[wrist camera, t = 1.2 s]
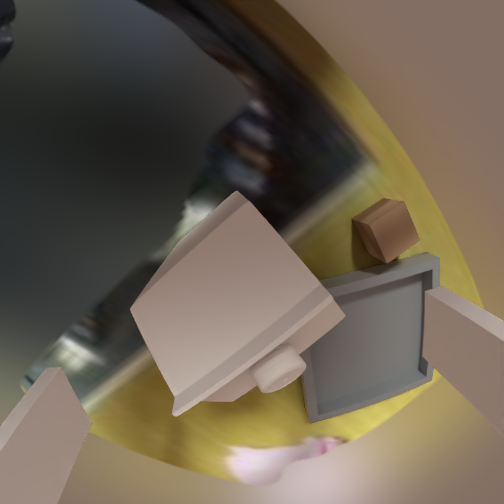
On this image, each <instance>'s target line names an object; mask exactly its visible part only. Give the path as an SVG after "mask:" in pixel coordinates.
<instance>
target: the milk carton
mask: <svg viewBox="0 0 504 504" xmlns="http://www.w3.org/2000/svg"><path fill="white" fill-rule="evenodd" d="M130 311H131V313H132V315H133V317H134V320H135V322H136V324H137V326H138V328H139V330H140V332H141V334H142V336H143V338H144V341H145V343H146V345H147V347H148V349H149V351H150V353H151V355H152V356H153V358H154V360H155V362H156V364H157V366H158V368H159V370H160V372H161V374H162V376H163V377H164V379H165V381H166V383H167V385H168V386H169V388H170V390H171V392H172V394H173V395H174V397H175V399H174V404H173V409H172V415H173V416H175V417H178V416H179V415H181V414H182V413H184V412H185V411H187V410H188V409H190V408H191V407H193V406H194V405H196V404H197V403H199V402H200V401H211V402H233V401H234V400H236V399H238V398H239V397H241V396H242V395H244V394H245V393H247V392H248V391H250V390H251V389H253V388H254V387H256V386H258V387H259V389H260V391H261V392H263V393H271V392H275V391H277V390H279V389H282V388H283V387H285V386H287V385H288V384H290V383H291V382H293V381H294V380H295V379H297V378H298V377H299V376H300V375H301V374H302V373H303V372H304V371H305V369H306V363H305V362H304V361H303V359H302V358H301V357H300V356H299V354H300V353H302V352H303V351H304V350H306V349H307V348H308V347H309V346H311V345H312V344H313V343H314V342H316V341H317V340H318V339H319V338H321V337H322V336H323V335H324V334H326V333H327V332H328V331H329V330H330V329H332V328H333V327H334V326H335V325H336V324H338V323H339V322H340V321H341V320H342V319H343V318H344V317H345V316H346V315H345V314H344V313H343V311H342V310H341V309H340V307H339V306H338V305H337V303H336V302H335V301H334V299H333V297H332V295H331V294H330V293H329V292H328V291H327V290H326V289H325V287H324V286H323V285H322V284H321V283H320V282H319V281H318V279H317V278H316V277H315V276H314V275H313V273H312V272H311V271H310V270H309V269H308V268H307V266H306V265H305V264H304V263H303V262H302V261H301V259H300V258H299V257H298V256H297V255H296V254H295V252H294V251H293V250H292V249H291V248H290V247H289V245H288V244H287V243H286V242H285V241H284V240H283V239H282V237H281V236H280V235H279V234H278V233H277V232H276V231H275V229H274V228H273V227H272V226H271V225H270V224H269V223H268V221H267V220H266V219H265V218H264V217H263V216H262V215H261V213H260V212H259V211H258V210H257V209H256V208H255V207H254V206H253V204H252V203H251V202H250V201H248V200H247V199H246V198H245V197H244V196H243V195H242V194H240V193H239V192H238V191H235V192H234V193H232V194H231V195H230V196H229V197H228V198H227V199H225V200H224V201H223V202H222V203H221V204H220V205H219V206H218V207H216V208H215V209H214V210H213V211H212V212H211V213H210V214H209V215H207V216H206V217H205V218H204V219H203V220H202V221H201V222H200V223H199V224H197V225H196V226H195V227H194V228H193V229H192V230H191V231H190V232H189V233H188V234H186V235H185V236H184V237H183V238H182V239H181V240H180V241H179V242H178V243H177V245H176V246H175V247H174V249H173V250H172V251H171V253H170V254H169V255H168V257H167V258H166V259H165V261H164V262H163V263H162V265H161V266H160V267H159V269H158V270H157V272H156V273H155V274H154V276H153V277H152V278H151V280H150V281H149V283H148V284H147V285H146V287H145V288H144V290H143V291H142V292H141V294H140V295H139V297H138V298H137V299H136V301H135V302H134V304H133V305H132V307H131V308H130Z"/></svg>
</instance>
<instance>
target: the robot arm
mask: <svg viewBox="0 0 504 504" xmlns="http://www.w3.org/2000/svg"><path fill="white" fill-rule="evenodd" d="M422 357H424V358H425V359H426V360H427V361H428V362H429V363H430V364H431V365H432V366H433V367H434V368H435V369H436V370H437V371H438V372H439V373H440V374H441V375H442V376H443V377H444V378H445V379H447V381H448V382H449V383H451V384H452V386H454V387H455V388H456V389H457V390H458V391H459V392H460V393H461V394H462V395H463V396H464V397H465V398H466V399H467V400H468V401H469V402H470V403H471V404H472V405H473V406H474V407H475V408H476V409H477V410H478V411H479V412H480V413H481V414H482V415H483V416H484V417H485V418H486V420H487V421H488V422H489V423H490V424H491V425H492V426H493V427H494V428H495V429H496V430H497V431H498V432H499V433H500V434H501V435H502V436H503V437H504V321H503V320H501V319H499V318H498V317H496V316H494V315H492V314H491V313H489V312H487V311H486V310H484V309H482V308H480V307H479V306H477V305H475V304H473V303H472V302H470V301H468V300H466V299H464V298H463V297H461V296H459V295H457V294H455V293H453V292H452V291H450V290H448V289H446V288H444V287H442V286H439V287H436V288H433V289H431V290H428V291H425V317H424V338H423V353H422ZM91 425H92V422H91V420H90V419H89V417H88V415H87V414H86V412H85V410H84V408H83V407H82V405H81V403H80V402H79V400H78V398H77V396H76V394H75V392H74V391H73V389H72V387H71V385H70V383H69V381H68V379H67V377H66V375H65V373H64V371H63V369H62V367H55V368H46V369H45V371H44V372H43V373H42V374H41V375H40V377H39V378H38V379H37V380H36V382H35V383H34V384H33V385H32V387H31V388H30V389H29V390H28V391H27V393H26V394H25V395H24V397H23V398H22V399H21V400H20V402H19V403H18V404H17V406H16V407H15V408H14V409H13V411H12V412H11V413H10V415H9V416H8V417H7V419H6V420H5V421H4V423H3V424H2V425H1V427H0V504H57V503H58V501H59V498H60V496H61V493H62V491H63V488H64V485H65V483H66V481H67V479H68V476H69V474H70V472H71V469H72V467H73V465H74V462H75V460H76V458H77V455H78V453H79V451H80V449H81V447H82V444H83V442H84V440H85V438H86V436H87V434H88V431H89V429H90V427H91Z"/></svg>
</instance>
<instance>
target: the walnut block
mask: <svg viewBox="0 0 504 504" xmlns="http://www.w3.org/2000/svg"><path fill="white" fill-rule="evenodd" d="M352 221H353V223H354V225H355V227H356V229H357V231H358V233H359V235H360V237H361V239H362V241H363V243H364V245H365V247H366V249H367V251H368V253H369V254H370V255H372V256H374V257H376V258H378V259H379V260H381V261H383V262H385V263H389V262H390V261H392V260H393V259H395V258H396V257H397V256H399V255H400V254H402V253H403V252H404V251H406V250H407V249H408V248H410V247H411V246H413V245H414V244H415V243H417V242H418V241H419V240H420V239H419V237H418V234H417V232H416V229H415V226H414V224H413V222H412V219H411V217H410V214H409V212H408V209H407V207H406V205H405V202H404V201H398V200H391V199H385V198H383V199H382V200H380V201H379V202H377V203H375V204H374V205H372V206H371V207H369V208H368V209H366V210H365V211H363V212H362V213H360V214H358V215H357V216H355V217H354V218H352Z"/></svg>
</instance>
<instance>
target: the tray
mask: <svg viewBox="0 0 504 504" xmlns="http://www.w3.org/2000/svg"><path fill="white" fill-rule="evenodd" d="M318 281H319V282H320V283H321V284H322V285H323V286H324V287H325V289H326V290H327V291H328V292H329V293H330V294H331V295H332V297H333V299H334V301H335V302H336V303H337V305H338V306H339V307H340V309H341V310H342V311H343V313H344V314H345V315H346V316H345V317H344V318H343V319H342V320H341V321H340V322H339V323H338V324H336V325H335V326H334V327H333V328H332V329H330V330H329V331H328V332H327V333H326V334H324V335H323V336H322V337H321V338H319V339H318V340H317V341H316V342H314V343H313V344H312V345H311V346H309V347H308V348H307V349H306V350H304V351H303V352H302V353H300V354H299V356H300V357H301V358H302V359H303V361H304V362H305V363H306V369H305V371H304V372H303V373H302V374H301V375H300V377H301V383H302V390H303V396H304V403H305V409H306V412H307V415H308V418H309V421H310V423H314V422H317V421H321V420H325V419H328V418H332V417H335V416H338V415H342V414H345V413H348V412H351V411H354V410H357V409H360V408H363V407H366V406H369V405H372V404H375V403H378V402H380V401H383V400H386V399H388V398H391V397H394V396H396V395H399V394H401V393H404V392H406V391H409V390H411V389H413V388H416V387H418V386H420V385H423V384H425V383H427V382H429V381H432V376H433V369H434V367H433V366H432V365H431V364H430V363H429V362H428V361H427V360H426V359H425V358H424V357H422V353H423V338H424V317H425V291H428V290H431V289H433V288H436V287H439V286H440V258H439V257H437V256H434V255H432V254H430V253H427V252H425V253H422V254H418V255H414V256H411V257H407V258H404V259H400V260H396V261H392V262H389V263H385V264H381V265H377V266H373V267H370V268H366V269H362V270H358V271H354V272H350V273H346V274H342V275H338V276H334V277H330V278H326V279H322V280H318Z"/></svg>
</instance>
